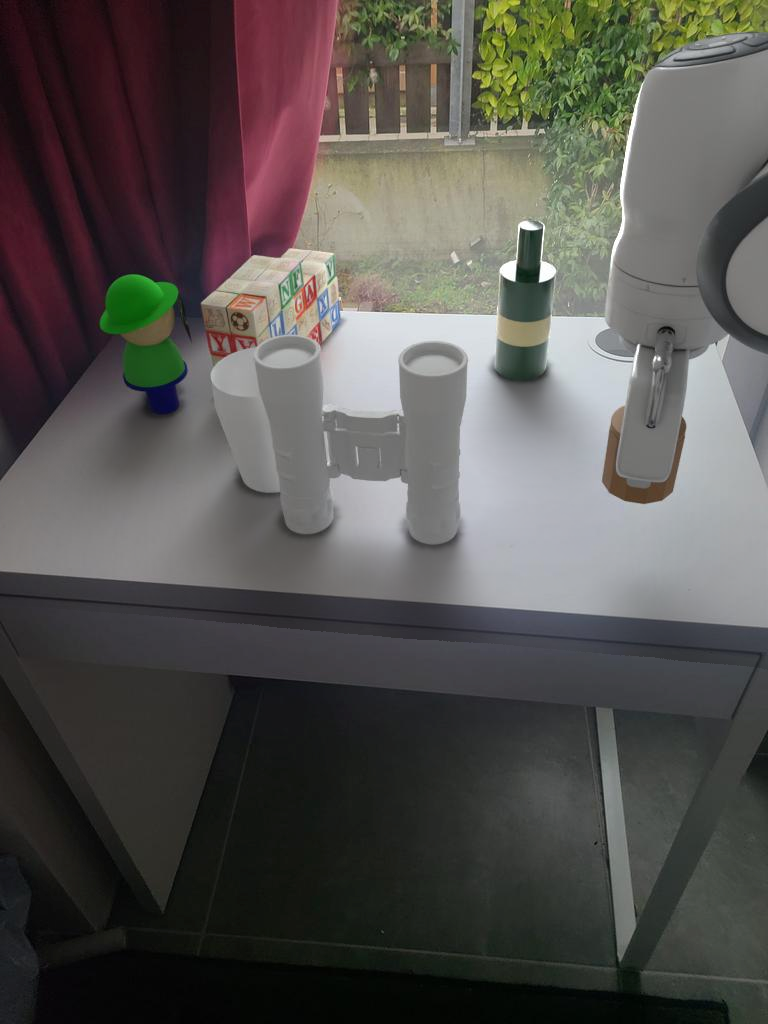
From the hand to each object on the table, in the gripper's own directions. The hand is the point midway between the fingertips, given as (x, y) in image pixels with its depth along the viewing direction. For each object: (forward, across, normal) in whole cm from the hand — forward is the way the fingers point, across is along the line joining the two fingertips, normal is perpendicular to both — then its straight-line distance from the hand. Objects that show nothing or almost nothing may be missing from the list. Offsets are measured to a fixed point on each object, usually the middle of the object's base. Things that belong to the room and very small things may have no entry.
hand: (642, 455), depth 66 cm
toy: (+9, +10, +53) cm, 54 cm away
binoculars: (+10, -4, +23) cm, 25 cm away
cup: (+9, +1, +35) cm, 36 cm away
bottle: (+10, +27, +15) cm, 32 cm away
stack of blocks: (+9, +22, +43) cm, 49 cm away
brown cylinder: (+3, 0, 0) cm, 3 cm away
